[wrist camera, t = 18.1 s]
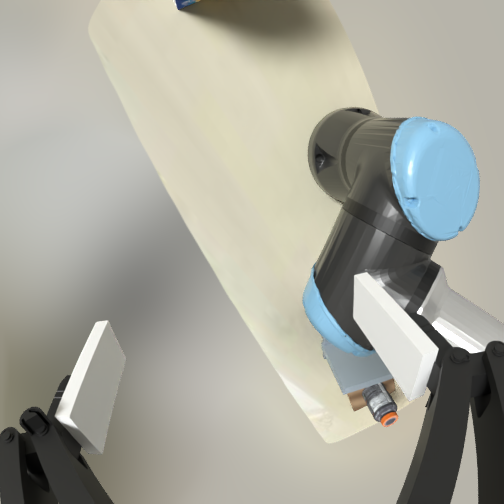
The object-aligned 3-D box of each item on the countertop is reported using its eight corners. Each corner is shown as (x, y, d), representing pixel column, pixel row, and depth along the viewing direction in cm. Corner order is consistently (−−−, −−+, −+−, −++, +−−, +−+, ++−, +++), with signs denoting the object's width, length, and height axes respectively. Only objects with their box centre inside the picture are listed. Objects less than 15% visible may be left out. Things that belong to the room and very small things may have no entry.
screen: (321, 356, 59) (342, 402, 47) (321, 334, 57) (344, 380, 45) (389, 336, 60) (418, 375, 48) (392, 314, 58) (424, 352, 46)
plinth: (343, 384, 64) (345, 387, 63) (388, 360, 63) (391, 364, 62) (352, 408, 69) (354, 411, 67) (393, 387, 68) (395, 390, 67)
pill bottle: (380, 393, 66) (398, 425, 56) (359, 399, 66) (376, 432, 55) (385, 377, 64) (405, 410, 53) (363, 383, 63) (382, 418, 53)
